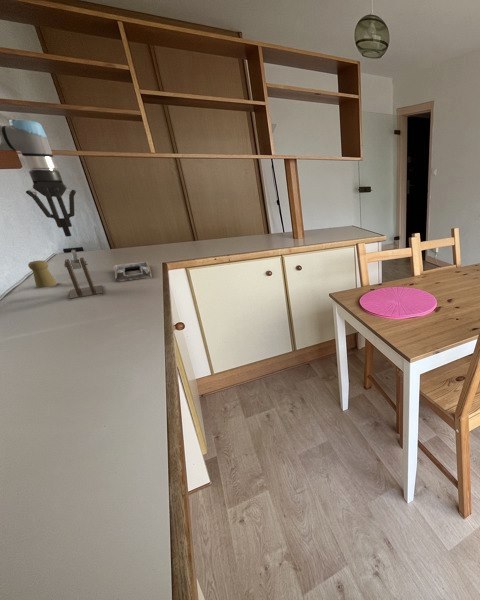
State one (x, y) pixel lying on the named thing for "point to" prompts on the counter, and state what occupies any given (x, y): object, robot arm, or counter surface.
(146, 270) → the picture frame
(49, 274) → the cork
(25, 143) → the robot arm
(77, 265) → the tap lever
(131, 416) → the counter surface
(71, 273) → the bracket
